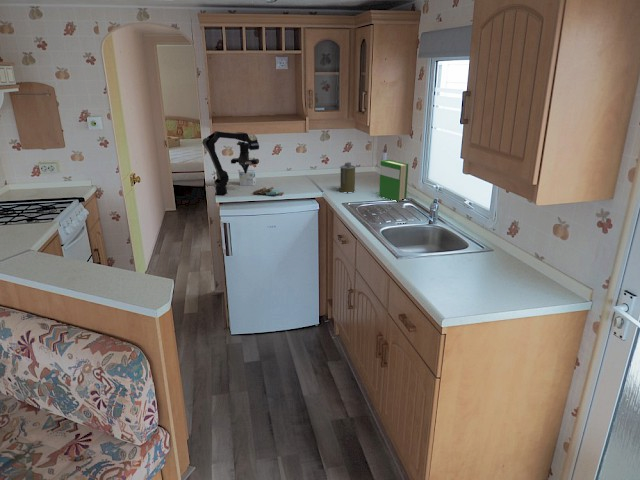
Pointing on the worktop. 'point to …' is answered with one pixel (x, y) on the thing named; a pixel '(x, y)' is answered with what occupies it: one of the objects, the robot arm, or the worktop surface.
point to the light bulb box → (247, 178)
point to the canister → (347, 178)
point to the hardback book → (393, 179)
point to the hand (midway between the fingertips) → (245, 173)
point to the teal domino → (272, 192)
